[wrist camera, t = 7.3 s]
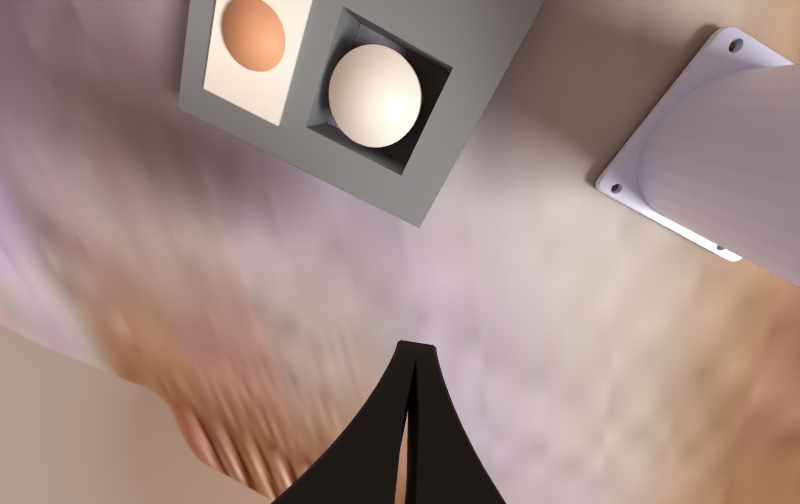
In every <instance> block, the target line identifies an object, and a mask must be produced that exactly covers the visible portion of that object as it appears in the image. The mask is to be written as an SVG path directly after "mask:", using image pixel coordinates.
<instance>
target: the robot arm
mask: <svg viewBox="0 0 800 504" xmlns="http://www.w3.org/2000/svg"><path fill="white" fill-rule="evenodd" d="M733 40H734V41H735V43H736V44H735V48H734V50H733V51H732V52H730V51H729V45H730V44H731V42H732V41H733ZM615 184H618V188H617V189H616V190H615V191H612V192H611V188H612V186H613V185H615ZM595 186H596V189H597V190H599V191H600V192H602V193H604V194H605V195H607V196H609V197H611V198H613V199H615V200H617V201H618V202H620V203H622V204H624V205H626V206H628V207H630V208H631V209H633V210H635V211H637V212H639V213H641V214H642V215H644V216H646V217H648V218H650V219H652V220H654V221H655V222H657V223H659V224H661V225H663V226H665V227H667V228H668V229H670V230H672V231H674V232H676V233H678V234H679V235H681V236H683V237H685V238H687V239H689V240H691V241H692V242H694V243H696V244H698V245H700V246H702V247H704V248H705V249H707V250H709V251H711V252H713V253H715V254H716V255H718V256H720V257H722V258H724V259H726V260H728V261H731V262H732V261H737V260H740V259H741V258H744V259H746V260H748V261H750V262H751V263H753V264H755V265H757V266H759V267H761V268H763V269H765V270H767V271H769V272H771V273H773V274H774V275H776V276H778V277H780V278H782V279H784V280H786V281H788V282H790V283H792V284H794V285H795V286H797V287H799V288H800V64H794V63H792V62H790V61H789V60H787V59H786V58H784V57H783V56H781V55H779V54H778V53H776V52H775V51H773V50H772V49H770V48H768V47H767V46H765V45H764V44H762V43H760V42H759V41H757V40H756V39H754V38H753V37H751V36H749V35H748V34H746V33H745V32H743V31H742V30H740V29H738V28H737V27H734V26H729V27H724V28H721V29H719V30H717V31H715V32H714V33H713V34H712V35H711V36H710V38H709V39H708V40H707V41H706V43H705V44H704V45H703V46H702V48H701V49H700V50H699V52H698V53H697V54H696V55H695V57H694V58H693V59H692V60H691V62H690V63H689V64H688V65H687V67H686V68H685V69H684V70H683V72H682V73H681V74H680V76H679V77H678V78H677V79H676V81H675V82H674V83H673V84H672V86H671V87H670V88H669V89H668V91H667V92H666V93H665V94H664V96H663V97H662V98H661V99H660V101H659V102H658V103H657V105H656V106H655V107H654V108H653V110H652V111H651V112H650V113H649V115H648V116H647V117H646V118H645V120H644V121H643V122H642V123H641V125H640V126H639V127H638V129H637V130H636V131H635V132H634V134H633V135H632V136H631V137H630V139H629V140H628V141H627V142H626V144H625V145H624V146H623V147H622V149H621V150H620V151H619V152H618V154H617V155H616V156H615V158H614V159H613V160H612V161H611V163H610V164H609V165H608V166H607V168H606V169H605V170H604V171H603V173H602V174H601V175H600V176H599V178H598V179H597V181H596V185H595ZM717 245H719V246H718V247H717ZM407 412H408V439H407V481H406V495H405V504H506V503H505V501H504V499H503V498H502V496H501V495H500V493H499V491H498V490H497V488H496V486H495V485H494V483H493V482H492V480H491V478H490V477H489V475H488V473H487V472H486V470H485V468H484V467H483V465H482V463H481V461H480V459H479V458H478V456H477V454H476V452H475V450H474V448H473V447H472V445H471V443H470V441H469V439H468V437H467V435H466V433H465V431H464V428H463V426H462V424H461V422H460V420H459V417H458V415H457V413H456V410H455V408H454V406H453V403H452V401H451V398H450V395H449V393H448V390H447V387H446V384H445V381H444V378H443V375H442V372H441V368H440V365H439V361H438V356H437V351H436V347H435V346H434V345H429V344H422V343H416V342H409V341H403V340H401V341H399V342H398V343H397V347H396V350H395V352H394V355H393V357H392V359H391V361H390V363H389V365H388V367H387V369H386V371H385V372H384V374H383V376H382V377H381V379H380V381H379V383H378V384H377V386H376V387H375V389H374V390H373V392H372V393H371V395H370V396H369V398H368V399H367V401H366V402H365V404H364V405H363V407H362V408H361V409H360V411H359V412H358V413H357V415H356V416H355V417H354V419H353V420H352V421H351V422H350V424H349V425H348V426H347V427H346V429H345V430H344V431H343V432H342V433H341V434H340V436H339V437H338V438H337V439H336V440H335V441H334V443H333V444H332V445H331V446H330V447H329V448H328V449H327V450H326V451H325V452H324V454H323V455H322V456H321V457H320V458H319V459H318V460H317V461H316V462H315V463H314V464H313V465H312V466H311V467H310V468H309V469H308V470H307V471H306V472H305V473H304V474H303V475H302V476H301V477H300V478H299V479H298V480H297V481H296V482H294V483H293V484H292V485H291V486H290V487H289V488H288V489H287V490H286V491H284V492H283V493H282V494H281V495H280V496H279V497H278V498H277V499H275V500H274V501H273V502H272V503H271V504H394V501H395V491H396V482H397V472H398V463H399V453H400V447H401V442H402V437H403V432H404V427H405V422H406V417H407Z"/></svg>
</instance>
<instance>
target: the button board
mask: <svg viewBox="0 0 800 504" xmlns="http://www.w3.org/2000/svg"><path fill="white" fill-rule="evenodd" d="M544 1H545V0H190V5H189V13H188V22H187V31H186V40H185V48H184V57H183V66H182V74H181V83H180V92H179V100H178V109H180V110H182V111H184V112H186V113H188V114H190V115H192V116H194V117H196V118H198V119H200V120H202V121H204V122H206V123H208V124H210V125H212V126H214V127H216V128H218V129H220V130H222V131H224V132H226V133H228V134H230V135H232V136H234V137H236V138H238V139H240V140H242V141H244V142H246V143H248V144H250V145H252V146H254V147H257V148H259V149H261V150H263V151H265V152H267V153H269V154H271V155H273V156H275V157H277V158H279V159H281V160H283V161H285V162H287V163H289V164H291V165H293V166H295V167H297V168H299V169H301V170H303V171H305V172H307V173H309V174H311V175H313V176H315V177H317V178H319V179H321V180H323V181H325V182H327V183H329V184H331V185H333V186H335V187H337V188H339V189H341V190H344V191H346V192H348V193H350V194H352V195H354V196H356V197H358V198H360V199H362V200H364V201H366V202H368V203H370V204H372V205H374V206H376V207H378V208H380V209H382V210H384V211H386V212H388V213H390V214H392V215H394V216H396V217H398V218H400V219H402V220H404V221H406V222H408V223H410V224H412V225H414V226H416V227H418V228H419V227H420V226H421V224H422V222H423V220H424V218H425V217H426V215H427V213H428V211H429V209H430V208H431V206H432V204H433V202H434V200H435V198H436V197H437V195H438V193H439V191H440V189H441V188H442V186H443V184H444V182H445V180H446V179H447V177H448V175H449V173H450V171H451V170H452V168H453V166H454V164H455V162H456V161H457V159H458V157H459V155H460V153H461V151H462V150H463V148H464V146H465V144H466V142H467V141H468V139H469V137H470V135H471V133H472V132H473V130H474V128H475V126H476V124H477V123H478V121H479V119H480V117H481V115H482V113H483V112H484V110H485V108H486V106H487V104H488V103H489V101H490V99H491V97H492V95H493V94H494V92H495V90H496V88H497V86H498V85H499V83H500V81H501V79H502V77H503V76H504V74H505V72H506V70H507V68H508V66H509V65H510V63H511V61H512V59H513V57H514V56H515V54H516V52H517V50H518V48H519V47H520V45H521V43H522V41H523V39H524V38H525V36H526V34H527V32H528V30H529V29H530V27H531V25H532V23H533V21H534V19H535V18H536V16H537V14H538V12H539V10H540V9H541V7H542V5H543V3H544ZM360 23H362V24H363V25H365V26H367V27H369V28H371V29H372V30H374V31H376V32H378V33H380V34H381V35H383V36H385V37H387V38H389V39H390V40H392V41H394V42H396V43H398V44H399V45H401V46H403V47H405V48H407V49H408V50H410V51H412V52H414V53H416V54H418V55H419V56H421V57H423V58H425V59H427V60H428V61H430V62H432V63H434V64H436V65H437V66H439V67H441V68H443V69H445V70H446V71H448V72H450V75H449V77H448V79H447V81H446V83H445V86H444V88H443V90H442V92H441V94H440V96H439V98H438V100H437V102H436V104H435V106H434V109H433V111H432V113H431V115H430V117H429V119H428V121H427V123H426V125H425V127H424V129H423V131H422V134H421V136H420V138H419V140H418V142H417V144H416V146H415V148H414V150H413V152H412V154H411V156H410V159H409V161H408V163H407V164H405V163H404V162H402V161H400V160H398V159H396V158H394V157H392V156H390V155H388V154H386V153H384V152H382V151H380V150H378V149H376V148H374V147H367V146H364V145H361V144H359V143H356V142H355V141H353V140H351V139H350V138H349V137H348V136H346V135H345V134H344V133H343V131H341V130H339V129H337V128H335V127H334V126H332V125H330V124H328V123H327V120H328V117H329V114H330V111H331V108H330V103H329V85H330V80H331V76H332V74H333V71H334V69H335V67H336V66H337V64H338V63H339V61H340V60H341V59H342V58H343V57H344V56H345V55H346V54H347V53H348V52H350V51H351V48H352V45H353V42H354V39H355V36H356V33H357V30H358V27H359V24H360Z"/></svg>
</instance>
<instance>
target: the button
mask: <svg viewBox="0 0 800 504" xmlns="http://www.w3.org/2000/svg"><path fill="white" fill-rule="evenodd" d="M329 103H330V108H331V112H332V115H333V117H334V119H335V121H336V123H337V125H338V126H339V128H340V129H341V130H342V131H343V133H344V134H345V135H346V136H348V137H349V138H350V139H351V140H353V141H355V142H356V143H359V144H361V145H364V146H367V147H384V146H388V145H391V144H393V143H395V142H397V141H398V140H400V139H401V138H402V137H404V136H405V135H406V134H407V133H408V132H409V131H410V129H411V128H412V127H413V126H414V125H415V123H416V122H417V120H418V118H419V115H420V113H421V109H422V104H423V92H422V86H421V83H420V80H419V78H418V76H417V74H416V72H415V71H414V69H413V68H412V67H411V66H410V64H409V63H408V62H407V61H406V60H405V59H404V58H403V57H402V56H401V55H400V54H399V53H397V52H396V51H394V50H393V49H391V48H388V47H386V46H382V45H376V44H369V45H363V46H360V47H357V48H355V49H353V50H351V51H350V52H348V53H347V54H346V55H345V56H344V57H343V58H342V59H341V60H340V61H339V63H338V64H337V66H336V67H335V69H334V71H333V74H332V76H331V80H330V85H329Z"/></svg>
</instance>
